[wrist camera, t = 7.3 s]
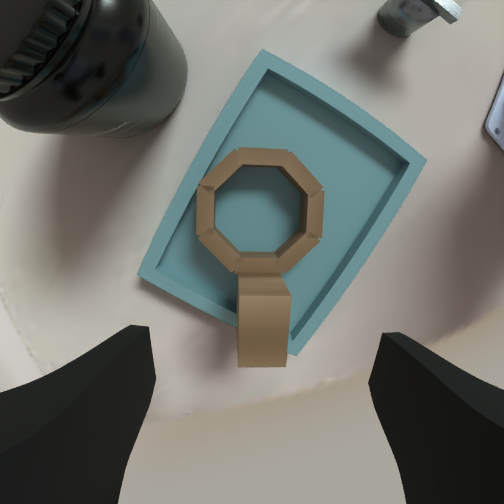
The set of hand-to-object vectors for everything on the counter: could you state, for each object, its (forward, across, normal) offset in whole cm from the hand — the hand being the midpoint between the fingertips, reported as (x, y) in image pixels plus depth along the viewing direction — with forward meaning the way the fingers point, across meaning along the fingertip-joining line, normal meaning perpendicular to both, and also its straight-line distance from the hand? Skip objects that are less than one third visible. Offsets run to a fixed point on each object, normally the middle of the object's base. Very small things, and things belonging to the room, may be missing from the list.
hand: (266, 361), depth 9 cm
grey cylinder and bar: (+9, -8, -15) cm, 19 cm away
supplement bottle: (+10, +8, -10) cm, 16 cm away
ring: (+8, 0, -1) cm, 8 cm away
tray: (+9, -1, -3) cm, 10 cm away
